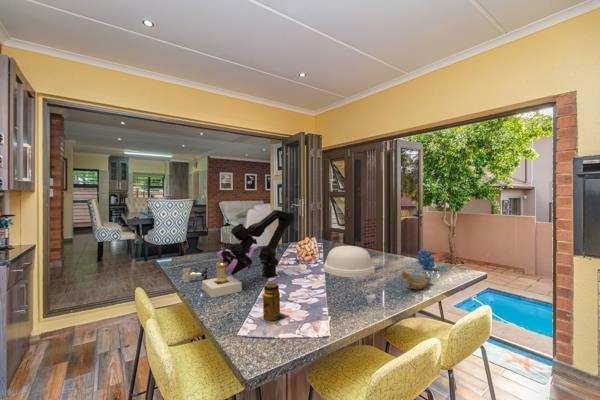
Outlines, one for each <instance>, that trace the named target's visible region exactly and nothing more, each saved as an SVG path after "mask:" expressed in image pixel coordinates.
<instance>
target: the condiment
mask: <svg viewBox="0 0 600 400" xmlns="http://www.w3.org/2000/svg"><path fill="white" fill-rule="evenodd" d="M279 288H280V287H279V285H278V284H277V283H267V284H265V285H264V289H263V291H264V292H263V295H262V297H263V298H262V299H263V303H262V305H263V307H262V312H263V313H262V314H263V315H262V316H260V317H258V319H260V320H262V321H264V322H266V323H269V324H271V325H273V324H275V323H277V322H279V321H281V320H283V319H285V318H287V317H289V315H288V314H286V313H285V314H284V313H282V312H281V306H280V305H281V304H280V303H281V294H280V289H279Z"/></svg>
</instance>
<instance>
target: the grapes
mask: <svg viewBox="0 0 600 400" xmlns="http://www.w3.org/2000/svg"><path fill="white" fill-rule="evenodd" d="M416 259H417V260H418V265H420V266H422V269H424V270H429V271H431V270H432V269H433V267H434V268H435V265H436V264H435V262H434V261H435V257H434V256H432V253H431V252H430V251H427V250H426V249H425V248H424V249H423V248H422V250H417V256H416Z"/></svg>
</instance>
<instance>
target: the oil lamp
mask: <svg viewBox="0 0 600 400" xmlns="http://www.w3.org/2000/svg"><path fill="white" fill-rule="evenodd" d="M401 277H402V279H405V280H406V286H407V288H408V289H413V290H422V289H424V288H425V287H426V285H427V284H428V283H430V282H431V281H432V278H431V277H423V278H418V277H413V276H411V275H410V274H409V273H407V272H406V271H405V270H403V271H402V273H401Z"/></svg>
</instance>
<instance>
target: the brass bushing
mask: <svg viewBox="0 0 600 400" xmlns="http://www.w3.org/2000/svg"><path fill="white" fill-rule="evenodd" d="M227 265H228V262H226V261H223V260H221V261H217V262H215V267H216V278H217V284H223V283H227V276H228V275H227V272H228V271H227Z"/></svg>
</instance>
